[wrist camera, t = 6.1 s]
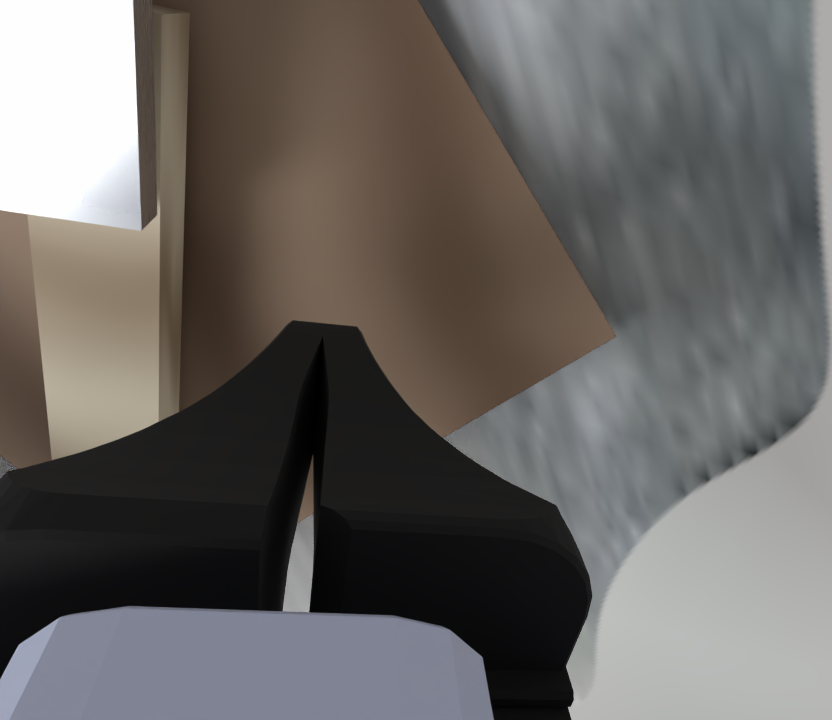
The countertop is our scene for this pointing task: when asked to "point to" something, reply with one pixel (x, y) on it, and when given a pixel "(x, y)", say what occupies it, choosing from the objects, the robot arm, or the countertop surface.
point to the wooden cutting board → (338, 220)
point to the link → (118, 287)
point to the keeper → (78, 111)
